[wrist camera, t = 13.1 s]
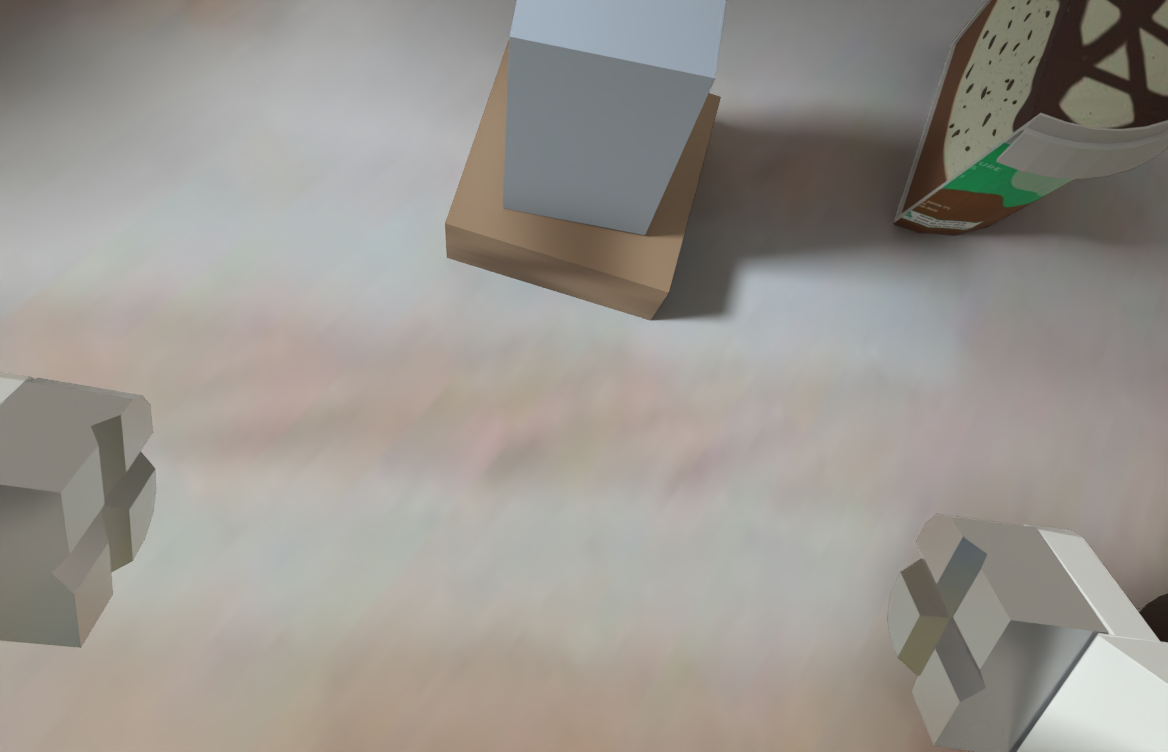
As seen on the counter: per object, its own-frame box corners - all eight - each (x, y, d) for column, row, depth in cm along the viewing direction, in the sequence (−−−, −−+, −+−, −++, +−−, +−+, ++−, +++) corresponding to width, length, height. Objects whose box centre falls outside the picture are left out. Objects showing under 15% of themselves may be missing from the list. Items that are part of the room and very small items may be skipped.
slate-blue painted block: (502, 208, 31) (509, 36, 21) (528, 80, 32) (545, -138, 22) (644, 235, 31) (715, 78, 22) (664, 107, 32) (739, -96, 23)
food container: (1021, 315, 36) (1224, 212, 27) (882, 255, 36) (1036, 129, 26) (1087, 71, 40) (1289, -99, 30) (960, 15, 39) (1122, -175, 30)
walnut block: (447, 261, 34) (445, 223, 31) (507, 83, 36) (512, 29, 33) (648, 322, 34) (668, 292, 31) (697, 143, 37) (720, 96, 33)
